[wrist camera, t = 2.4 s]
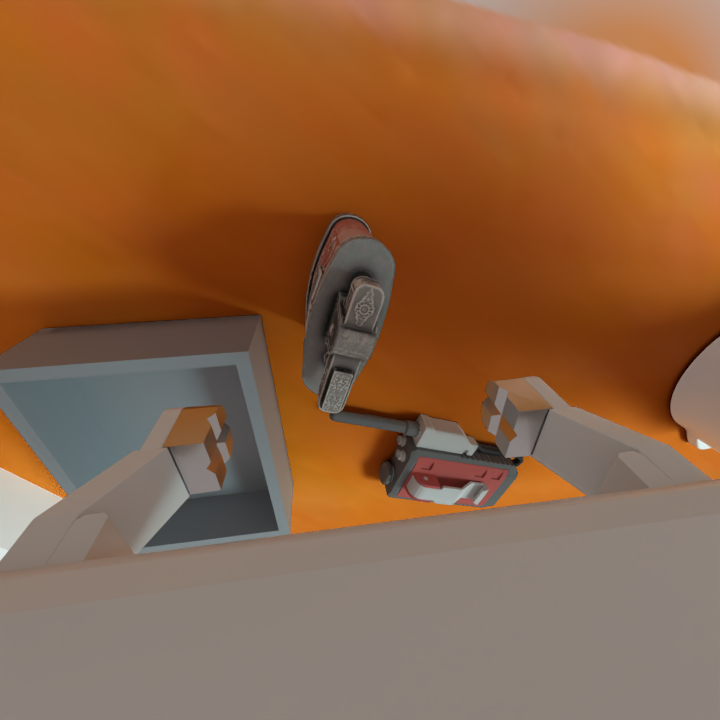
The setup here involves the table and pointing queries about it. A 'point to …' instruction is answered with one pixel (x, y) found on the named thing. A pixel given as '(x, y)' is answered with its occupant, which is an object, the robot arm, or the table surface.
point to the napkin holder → (19, 507)
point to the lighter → (344, 308)
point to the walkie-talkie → (439, 462)
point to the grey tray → (156, 413)
